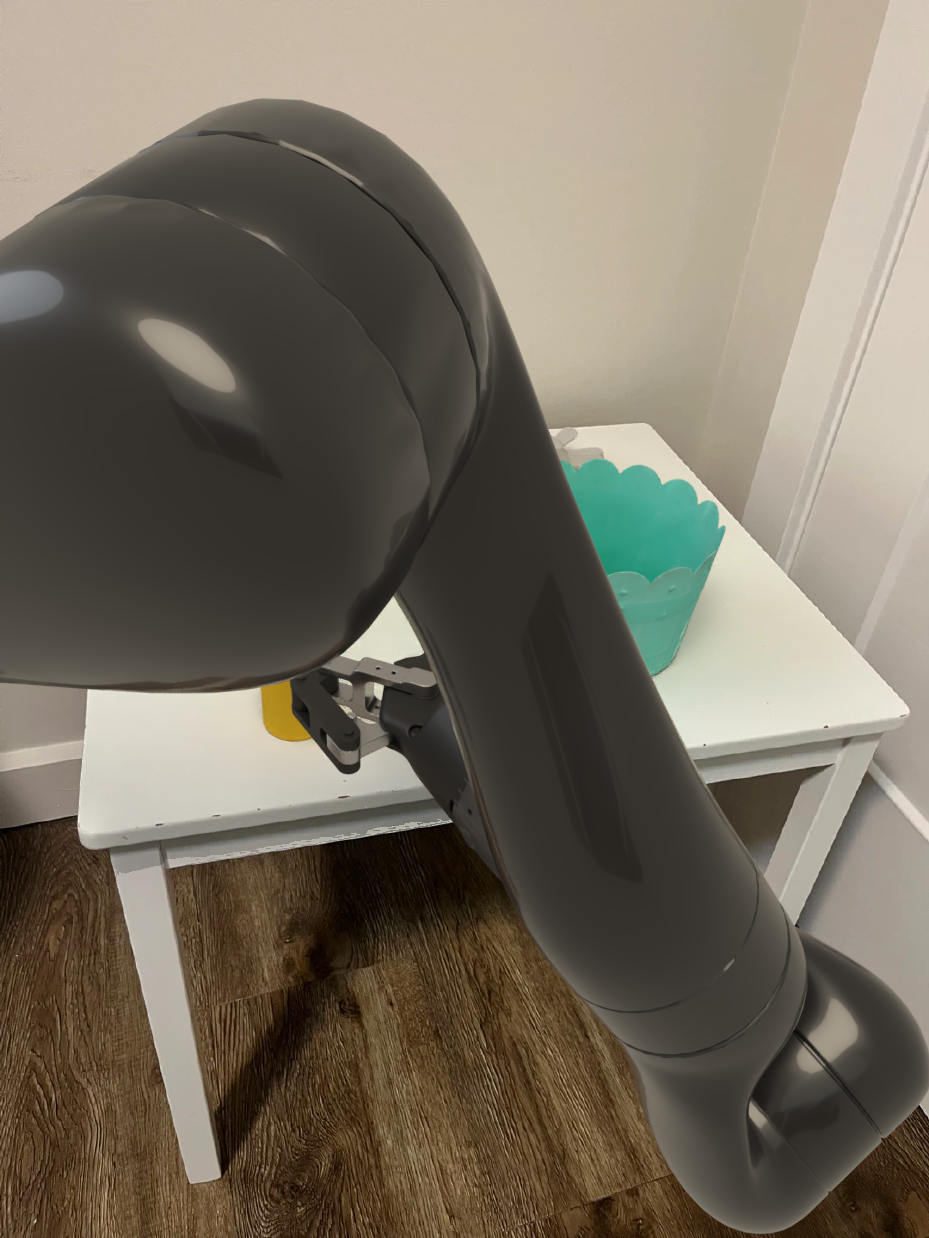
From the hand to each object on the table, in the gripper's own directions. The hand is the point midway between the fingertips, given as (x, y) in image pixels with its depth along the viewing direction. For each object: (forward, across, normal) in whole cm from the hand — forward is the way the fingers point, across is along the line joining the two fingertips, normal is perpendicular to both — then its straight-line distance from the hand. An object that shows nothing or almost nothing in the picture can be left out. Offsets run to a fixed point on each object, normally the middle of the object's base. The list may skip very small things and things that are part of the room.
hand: (365, 607), depth 55 cm
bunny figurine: (+34, -40, +19) cm, 56 cm away
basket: (+9, -29, +19) cm, 36 cm away
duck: (+11, 0, +19) cm, 22 cm away
